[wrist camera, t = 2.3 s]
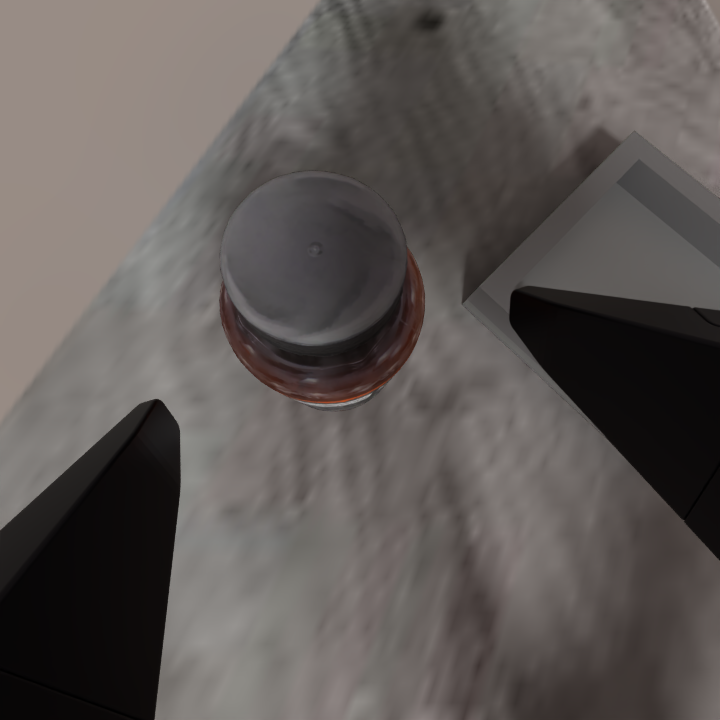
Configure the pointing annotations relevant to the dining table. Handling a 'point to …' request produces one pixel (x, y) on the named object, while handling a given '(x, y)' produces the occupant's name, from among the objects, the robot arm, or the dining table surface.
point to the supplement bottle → (319, 289)
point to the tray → (615, 244)
